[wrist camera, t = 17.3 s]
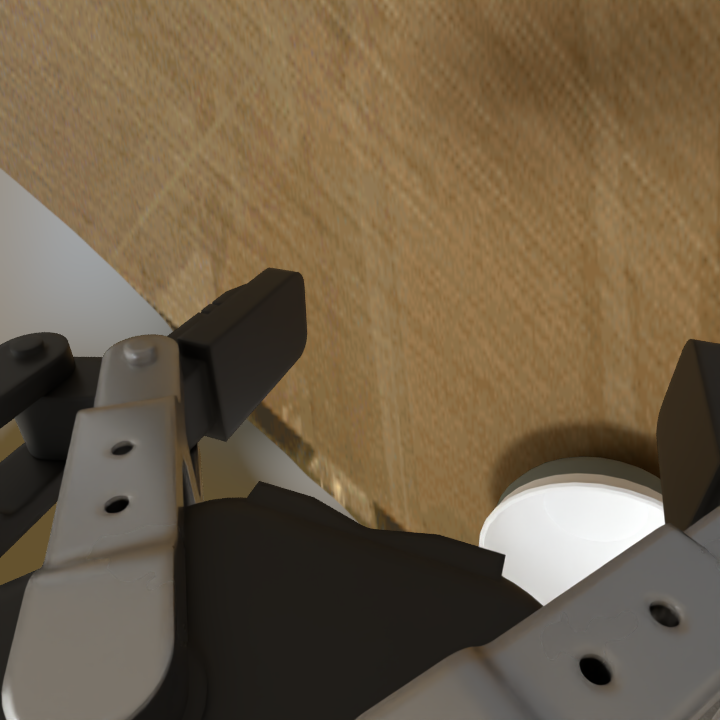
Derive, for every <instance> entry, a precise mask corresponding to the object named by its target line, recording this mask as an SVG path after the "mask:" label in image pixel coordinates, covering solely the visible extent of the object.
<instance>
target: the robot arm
mask: <svg viewBox="0 0 720 720" xmlns="http://www.w3.org/2000/svg"><path fill="white" fill-rule="evenodd" d="M306 340H307V322H306V304H305V287H304V279H303V277H302V275H301V274H300V273H299V272H293V271H287V270H281V269H275V268H267V269H265V270H264V271H263V272H262V273H260V274H259V275H258V276H256V277H255V278H254V279H253V280H251V281H250V282H249V283H247V284H244V285H242V286H239V287H237V288H234V289H232V290H229V291H227V292H225V293H224V294H222V295H221V296H220V297H218V298H217V299H216V300H214V301H213V303H212V304H209V305H208V306H207V307H205V308H204V309H203V310H201V313H197V314H196V315H195V316H193V317H192V318H191V319H189V320H188V321H187V322H185V323H184V324H183V325H181V326H180V327H179V328H177V329H176V330H175V331H173V332H172V333H171V334H169V335H168V336H163V335H141V336H135V337H131V338H128V339H125V340H122V341H120V342H118V343H116V344H114V345H113V346H111V347H110V348H109V349H108V350H107V351H106V352H105V353H104V355H103V357H73V355H72V352H71V349H70V346H69V343H68V340H67V339H66V338H65V337H64V336H62V335H60V334H57V333H50V332H42V333H33V334H28V335H23V336H20V337H17V338H14V339H11V340H9V341H7V342H5V343H3V344H1V345H0V428H2V427H3V426H4V425H6V424H7V423H8V422H10V421H11V420H12V419H14V418H15V420H16V423H17V425H18V427H19V429H20V432H21V434H22V436H23V439H24V441H25V443H24V444H22V445H21V446H20V447H19V448H17V449H16V450H15V451H14V452H12V453H11V454H10V455H9V456H8V457H6V458H5V459H4V460H3V461H1V462H0V557H1V556H2V555H3V554H4V553H5V552H6V551H8V550H9V549H10V548H11V547H12V546H13V545H14V544H15V543H16V542H17V541H18V540H19V539H20V538H21V537H22V536H23V535H24V534H25V533H26V532H27V531H28V530H29V529H30V528H31V527H32V526H33V525H34V524H35V523H36V522H37V521H38V520H39V519H40V518H41V517H42V516H43V515H44V514H45V513H46V512H47V511H48V510H49V509H50V508H51V507H52V506H53V505H54V504H55V503H56V502H57V501H58V502H57V506H56V511H55V516H54V520H53V525H52V529H51V534H50V539H49V544H48V548H47V552H46V557H45V561H44V563H43V565H42V567H41V568H40V569H38V570H35V571H33V572H31V573H28V574H26V575H24V576H21V577H19V578H17V579H15V580H12V581H10V582H7V583H5V584H3V585H0V720H720V344H718V343H712V342H706V341H700V340H694V339H689V340H688V341H687V343H686V344H685V346H684V348H683V350H682V353H681V356H680V358H679V361H678V364H677V366H676V369H675V371H674V374H673V377H672V379H671V382H670V385H669V387H668V390H667V393H666V395H665V398H664V400H663V403H662V406H661V409H660V413H659V417H658V422H657V431H656V437H657V448H658V458H659V468H660V479H661V489H662V499H663V510H664V520H665V524H664V525H662V526H660V527H659V528H657V529H656V530H654V531H653V532H651V533H650V534H648V535H647V536H645V537H644V538H642V539H641V540H640V541H638V542H637V543H635V544H634V545H632V546H631V547H629V548H628V549H626V550H625V551H623V552H622V553H621V554H619V555H618V556H616V557H615V558H613V559H612V560H610V561H609V562H607V563H606V564H604V565H603V566H602V567H600V568H599V569H597V570H596V571H594V572H593V573H591V574H590V575H588V576H587V577H586V578H584V579H583V580H581V581H580V582H578V583H577V584H575V585H574V586H572V587H571V588H569V589H568V590H567V591H565V592H564V593H562V594H561V595H559V596H558V597H556V598H555V599H553V600H552V601H550V602H549V603H548V604H546V605H545V606H543V605H542V604H541V603H540V602H538V601H537V600H536V599H535V598H534V597H533V596H532V595H530V594H529V593H528V592H526V591H525V590H523V589H522V588H521V587H519V586H518V585H516V584H515V583H513V582H512V581H510V580H508V579H506V578H505V577H503V576H502V571H503V566H504V561H505V556H506V555H505V554H501V553H498V552H495V551H491V550H488V549H485V548H481V547H478V546H475V545H471V544H468V543H465V542H461V541H458V540H455V539H451V538H448V537H445V536H441V535H436V534H425V533H413V532H401V531H390V530H378V529H370V528H367V527H365V526H362V525H361V524H359V523H357V522H355V521H354V520H352V519H350V518H348V517H347V516H345V515H343V514H342V513H340V512H338V511H336V510H334V509H333V508H331V507H330V506H328V505H326V504H324V503H323V502H321V501H319V500H317V499H315V498H314V497H311V496H308V495H304V494H301V493H297V492H294V491H291V490H287V489H284V488H281V487H278V486H274V485H271V484H268V483H264V482H261V481H259V482H258V483H257V485H256V486H255V487H254V489H253V490H252V492H251V493H250V494H249V496H248V497H247V498H222V499H215V500H209V501H204V495H203V482H202V468H201V456H200V455H201V454H200V449H199V444H198V442H199V441H200V439H201V438H202V437H203V436H207V437H211V438H215V439H218V440H222V441H225V442H226V441H227V440H228V439H229V438H230V437H231V436H232V434H233V433H234V432H235V431H236V430H237V429H238V428H239V426H240V425H241V424H242V423H243V422H244V421H245V420H246V418H247V417H248V416H249V415H250V414H251V413H252V412H253V410H254V409H255V408H256V407H257V406H258V405H259V404H260V402H261V401H262V400H263V399H264V398H265V397H266V396H267V394H268V393H269V392H270V391H271V390H272V389H273V388H274V386H275V385H276V384H277V383H278V382H279V381H280V380H281V378H282V377H283V376H284V375H285V374H286V373H287V372H288V370H289V369H290V368H291V367H292V366H293V365H294V364H295V362H296V361H297V360H298V359H299V358H300V356H301V355H302V353H303V351H304V348H305V345H306Z"/></svg>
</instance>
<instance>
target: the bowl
mask: <svg viewBox="0 0 720 720" xmlns="http://www.w3.org/2000/svg"><path fill="white" fill-rule="evenodd" d="M664 524H665V520H664V510H663V499H662V489H661V479H659V478H658V477H657V476H655V475H653V474H651V473H649V472H647V471H645V470H643V469H641V468H639V467H636V466H633V465H630V464H627V463H624V462H621V461H616V460H611V459H606V458H600V457H571V458H561V459H558V460H554V461H550V462H546V463H544V464H541V465H539V466H537V467H535V468H533V469H531V470H529V471H528V472H526V473H525V474H523V475H522V476H521V477H519V478H518V479H517V480H515V481H514V482H513V483H511V484H510V485H509V487H508V488H507V489H506V490H505V491H504V493H503V494H502V495H501V497H500V500H499V502H498V504H497V507H496V508H495V509H494V510H493V512H492V513H491V514H490V515H489V516H488V518H487V519H486V520H485V523H484V525H483V528H482V530H481V532H480V540H479V547H481V548H485V549H488V550H491V551H495V552H498V553H501V554H505V555H506V556H505V561H504V566H503V571H502V576H503V577H505V578H506V579H508V580H510V581H512V582H513V583H515V584H516V585H518V586H519V587H521V588H522V589H523V590H525V591H526V592H528V593H529V594H530V595H532V596H533V597H534V598H535V599H536V600H537V601H538V602H540V603H541V604H542V605H543V606H545V605H546V604H548V603H549V602H550V601H552V600H553V599H555V598H556V597H558V596H559V595H561V594H562V593H564V592H565V591H567V590H568V589H569V588H571V587H572V586H574V585H575V584H577V583H578V582H580V581H581V580H583V579H584V578H586V577H587V576H588V575H590V574H591V573H593V572H594V571H596V570H597V569H599V568H600V567H602V566H603V565H604V564H606V563H607V562H609V561H610V560H612V559H613V558H615V557H616V556H618V555H619V554H621V553H622V552H623V551H625V550H626V549H628V548H629V547H631V546H632V545H634V544H635V543H637V542H638V541H640V540H641V539H642V538H644V537H645V536H647V535H648V534H650V533H651V532H653V531H654V530H656V529H657V528H659V527H660V526H662V525H664Z"/></svg>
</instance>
